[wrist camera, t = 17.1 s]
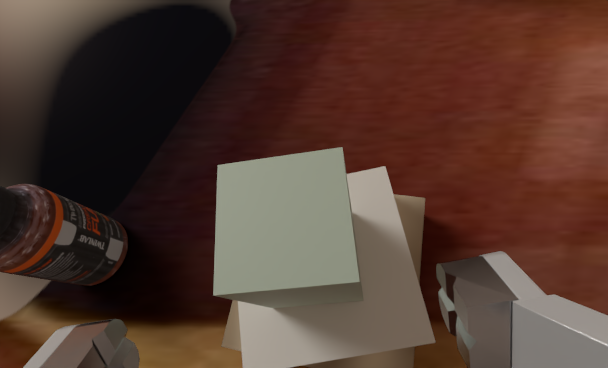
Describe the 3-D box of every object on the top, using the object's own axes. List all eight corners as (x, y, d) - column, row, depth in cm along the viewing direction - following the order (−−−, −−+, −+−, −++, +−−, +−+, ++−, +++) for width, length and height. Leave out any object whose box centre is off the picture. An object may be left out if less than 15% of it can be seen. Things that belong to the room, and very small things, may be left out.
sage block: (272, 308, 19) (213, 295, 12) (269, 221, 21) (217, 165, 14) (363, 300, 19) (359, 282, 11) (351, 211, 20) (342, 147, 13)
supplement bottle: (145, 238, 30) (32, 192, 20) (100, 300, 29) (-47, 285, 18) (100, 208, 32) (-24, 151, 22) (56, 264, 31) (-100, 232, 20)
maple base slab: (240, 343, 26) (221, 346, 23) (275, 196, 30) (263, 178, 27) (404, 381, 24) (411, 391, 20) (417, 214, 28) (425, 198, 24)
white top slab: (263, 367, 22) (243, 375, 18) (248, 217, 26) (229, 199, 22) (423, 339, 21) (435, 342, 17) (382, 189, 25) (385, 166, 21)
